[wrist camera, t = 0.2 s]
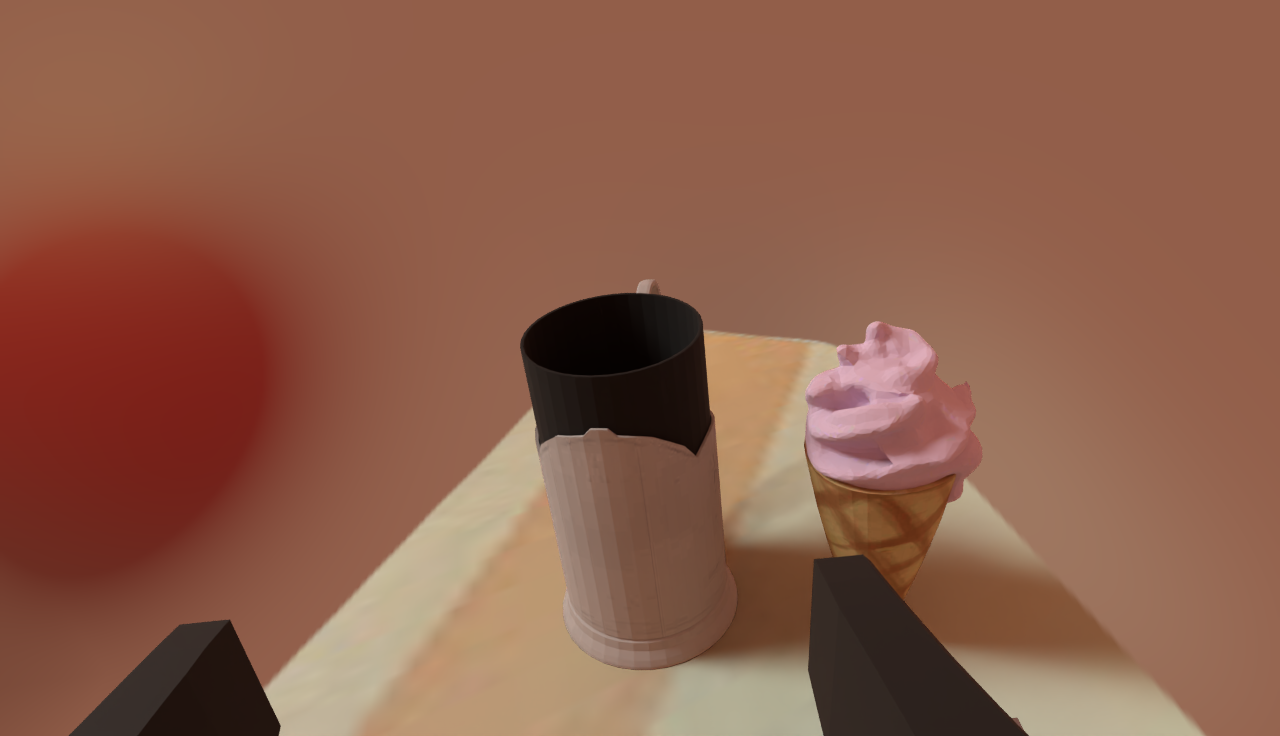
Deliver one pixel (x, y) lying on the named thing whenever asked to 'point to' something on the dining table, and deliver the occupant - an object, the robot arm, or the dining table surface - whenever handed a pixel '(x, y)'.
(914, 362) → the ice cream cone
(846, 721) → the robot arm
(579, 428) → the glass holder
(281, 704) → the dining table surface
